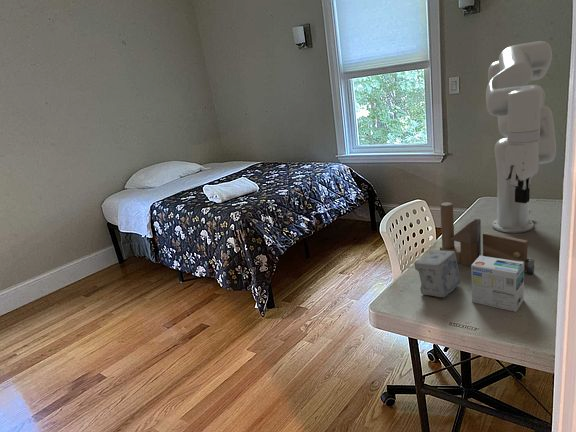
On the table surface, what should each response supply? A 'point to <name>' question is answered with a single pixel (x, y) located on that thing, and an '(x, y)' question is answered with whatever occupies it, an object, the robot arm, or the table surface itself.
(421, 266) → the incense holder
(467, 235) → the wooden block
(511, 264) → the light bulb box
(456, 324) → the table surface
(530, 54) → the robot arm
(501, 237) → the door
